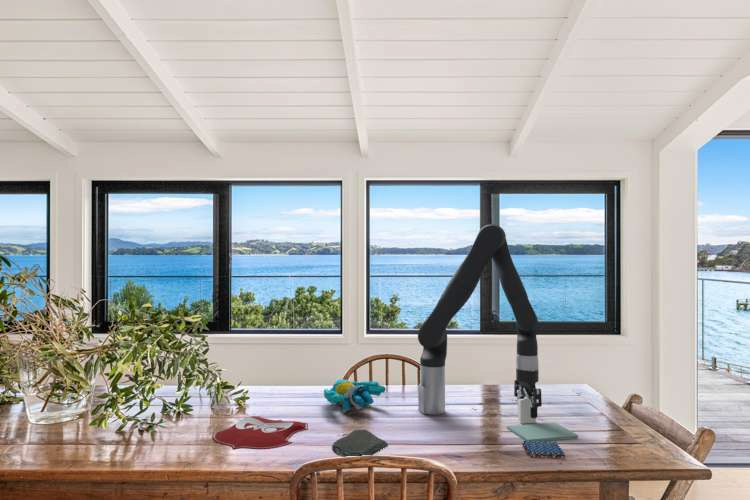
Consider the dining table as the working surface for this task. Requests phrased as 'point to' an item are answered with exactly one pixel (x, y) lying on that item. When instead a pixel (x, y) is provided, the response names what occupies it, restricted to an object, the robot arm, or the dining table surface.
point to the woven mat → (543, 449)
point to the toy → (353, 393)
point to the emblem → (259, 433)
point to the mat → (542, 432)
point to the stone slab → (358, 444)
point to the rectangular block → (524, 412)
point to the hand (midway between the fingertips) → (527, 414)
